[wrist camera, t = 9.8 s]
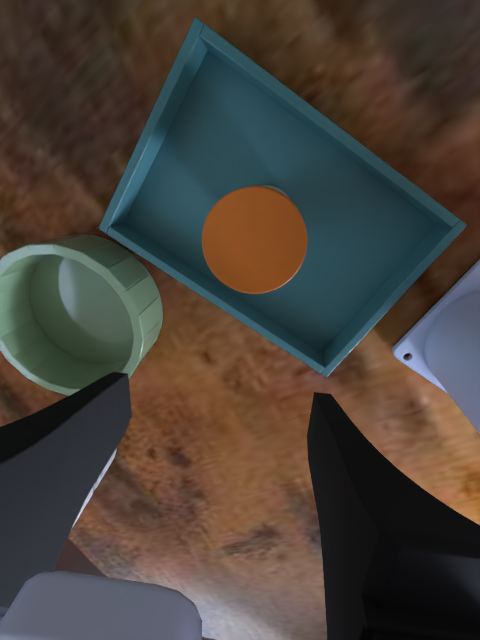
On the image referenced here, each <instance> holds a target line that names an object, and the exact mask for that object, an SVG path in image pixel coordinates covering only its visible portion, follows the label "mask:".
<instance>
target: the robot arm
mask: <svg viewBox="0 0 480 640" xmlns="http://www.w3.org/2000/svg"><path fill="white" fill-rule="evenodd" d="M406 353H410V355H409V356H408V357H406V358H404V357H403V356H404V355H405V354H406ZM392 354H393V355H394V357H395V358H397V359H398V360H400V361H401V362H402V363H404V364H405V365H407V366H408V367H410V368H411V369H413V370H414V371H416V372H417V373H419V374H420V375H422V376H423V377H425V378H426V379H427V380H429V381H430V382H432V383H433V384H435V385H436V386H438V387H439V388H441V389H442V390H444V391H445V392H447V393H448V394H449V395H450V397H451V398H452V399H453V400H454V402H455V403H456V404H457V406H458V407H459V408H460V409H461V411H462V412H463V413H464V415H465V416H466V417H467V418H468V420H469V421H470V422H471V424H472V425H473V426H474V427H475V429H476V430H477V431H478V433H479V434H480V259H479V260H478V261H477V262H476V263H475V264H474V265H473V266H472V267H471V268H470V269H469V270H468V271H467V272H466V273H465V274H464V276H463V277H462V278H461V279H460V280H459V281H458V282H457V283H456V284H455V285H454V286H453V287H452V288H451V289H450V290H449V291H448V292H447V293H446V294H445V295H444V296H443V297H442V298H441V299H440V300H439V301H438V302H437V303H436V304H435V305H434V306H433V307H432V308H431V309H430V310H429V311H428V312H427V313H426V314H425V315H424V316H423V317H422V318H421V319H420V320H419V321H418V322H417V323H416V324H415V325H414V326H413V327H412V328H411V329H410V330H409V331H408V332H407V333H406V334H405V335H404V336H403V337H402V339H401V340H400V341H399V342H398V343H397V344H396V345H395V346H394V347H393V348H392ZM131 417H132V415H131V403H130V390H129V378H128V373H120V372H112V373H110V374H108V375H106V376H104V377H102V378H100V379H98V380H96V381H95V382H93V383H91V384H89V385H88V386H86V387H84V388H82V389H81V390H79V391H77V392H75V393H73V394H72V395H70V396H68V397H66V398H64V399H62V400H60V401H58V402H56V403H54V404H52V405H50V406H48V407H46V408H44V409H42V410H40V411H38V412H36V413H34V414H32V415H29V416H27V417H25V418H22V419H20V420H17V421H15V422H13V423H10V424H7V425H5V426H2V427H0V640H215V639H209V638H205V637H202V620H201V618H200V615H199V613H198V610H197V608H196V606H195V604H194V603H193V602H192V601H191V600H189V599H188V598H187V597H186V596H184V595H183V594H182V593H180V592H179V591H177V590H173V589H170V588H167V587H164V586H161V585H156V584H150V583H143V582H136V581H129V580H122V579H115V578H108V577H101V576H94V575H87V574H81V573H74V572H67V571H53V569H54V567H55V565H56V562H57V560H58V558H59V555H60V553H61V551H62V549H63V547H64V544H65V542H66V540H67V538H68V536H69V533H70V531H71V529H72V527H73V525H74V523H75V520H76V518H77V516H78V514H79V512H80V510H81V508H82V506H83V504H84V502H85V500H86V498H87V496H88V494H89V493H90V491H91V489H92V487H93V486H94V484H95V483H96V481H97V479H98V478H99V476H100V474H101V473H102V471H103V469H104V468H105V466H106V465H107V463H108V461H109V460H110V458H111V456H112V455H113V453H114V451H115V450H116V448H117V446H118V445H119V443H120V441H121V440H122V437H123V435H124V433H125V431H126V429H127V426H128V424H129V421H130V419H131ZM307 444H308V461H309V467H310V473H311V479H312V484H313V490H314V496H315V501H316V507H317V512H318V518H319V525H320V534H321V546H322V559H323V573H324V588H325V605H326V623H327V640H480V525H478V524H476V523H475V522H473V521H471V520H470V519H468V518H466V517H464V516H463V515H461V514H459V513H458V512H456V511H454V510H453V509H451V508H450V507H448V506H447V505H445V504H444V503H442V502H441V501H439V500H438V499H436V498H435V497H434V496H432V495H431V494H429V493H428V492H427V491H425V490H424V489H422V488H421V487H420V486H418V485H417V484H416V483H415V482H413V481H412V480H411V479H409V478H408V477H407V476H406V475H404V474H403V473H402V472H401V471H400V470H398V469H397V468H396V467H395V466H394V465H393V464H392V463H391V462H390V461H388V460H387V459H386V458H385V457H384V456H383V455H382V454H381V453H380V452H379V451H378V450H377V449H376V448H375V447H374V446H373V445H372V444H371V443H370V442H369V441H368V440H367V439H366V438H365V437H364V435H363V434H362V433H361V432H360V431H359V430H358V428H357V427H356V426H355V425H354V424H353V422H352V421H351V420H350V419H349V417H348V416H347V415H346V413H345V412H344V411H343V409H342V408H341V407H340V405H339V404H338V403H337V401H336V400H335V399H334V398H333V396H332V395H331V394H325V393H316V392H314V397H313V403H312V409H311V415H310V421H309V427H308V434H307Z"/></svg>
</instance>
